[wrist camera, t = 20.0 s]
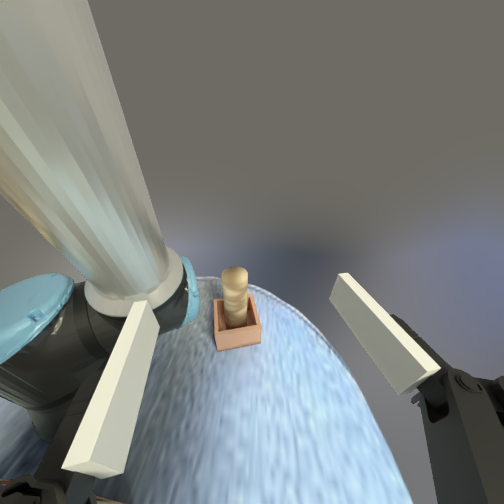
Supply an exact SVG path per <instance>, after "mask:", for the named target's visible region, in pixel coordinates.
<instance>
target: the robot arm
mask: <svg viewBox="0 0 504 504" xmlns="http://www.w3.org/2000/svg"><path fill="white" fill-rule="evenodd" d="M0 193H1V195H2V196H3V197H4V198H6V200H8V202H9V203H10V204H11V205H12V206H13V207H15V208H16V209H17V210H18V211H19V212H20V213H21V214H22V215H23V216H24V217H25V218H26V219H27V220H28V221H29V222H30V223H31V224H32V225H33V226H34V227H35V228H36V229H37V230H38V231H39V232H40V233H41V234H42V235H43V236H44V237H45V238H46V239H47V240H48V241H49V242H50V243H51V244H52V245H53V246H54V247H55V248H56V249H57V250H58V251H59V252H60V253H61V254H62V255H63V256H64V257H65V258H66V259H67V260H68V261H69V262H70V263H71V264H72V265H73V266H74V267H75V268H76V269H77V270H78V271H79V272H80V273H81V274H82V275H83V276H84V277H85V278H86V281H85V282H81V283H76V284H75V283H74V281H73V279H71V278H69V277H68V276H66V275H64V274H57V273H51V274H44V275H39V276H35V277H32V278H29V279H26V280H23V281H20V282H18V283H16V284H13V285H11V286H9V287H6V288H4V289H2V290H0V397H2V398H4V399H7V400H9V401H11V402H13V403H15V404H18V405H20V406H22V407H24V408H26V409H27V410H28V413H29V415H30V418H31V420H32V424H33V428H34V431H35V433H36V434H37V435H38V436H39V437H40V438H42V439H43V440H46V441H48V442H51V444H50V446H49V448H48V450H47V452H46V454H45V456H44V458H43V460H42V462H41V464H40V466H39V468H38V470H37V471H36V473H35V475H34V476H31V475H23V476H21V477H18V478H15V479H14V480H12V481H11V482H9V483H8V484H7V485H5V486H4V487H2V488H1V489H0V504H97V501H96V498H95V495H94V492H93V490H92V486H93V483H94V480H95V477H96V478H100V479H104V478H108V477H111V476H115V475H119V474H122V473H124V469H125V465H126V461H127V457H128V453H129V449H130V445H131V441H132V437H133V433H134V429H135V425H136V421H137V417H138V413H139V409H140V405H141V401H142V397H143V393H144V389H145V384H146V380H147V376H148V372H149V368H150V364H151V360H152V356H153V352H154V348H155V344H156V340H157V336H159V335H161V334H163V333H166V332H168V331H171V330H173V329H179V328H181V327H183V326H184V325H185V324H187V323H189V322H191V321H193V320H195V319H196V318H197V316H198V314H199V311H200V296H199V293H198V284H197V280H196V276H195V273H194V270H193V267H192V265H191V262H190V261H189V259H188V258H187V257H184V256H181V257H180V256H178V255H177V253H175V251H173V250H172V249H170V248H169V247H166V246H165V244H164V241H163V238H162V235H161V232H160V228H159V225H158V222H157V219H156V216H155V213H154V210H153V206H152V203H151V200H150V197H149V194H148V190H147V188H146V184H145V181H144V178H143V175H142V172H141V169H140V165H139V162H138V159H137V156H136V153H135V150H134V147H133V143H132V140H131V137H130V134H129V131H128V128H127V124H126V121H125V118H124V115H123V112H122V109H121V106H120V102H119V99H118V96H117V93H116V90H115V86H114V83H113V80H112V77H111V74H110V71H109V67H108V65H107V61H106V58H105V55H104V52H103V49H102V45H101V42H100V39H99V36H98V33H97V29H96V26H95V23H94V20H93V17H92V14H91V10H90V7H89V4H88V1H87V0H0ZM329 300H330V301H331V303H332V304H333V305H334V307H335V308H336V310H337V311H338V312H339V314H340V315H341V317H342V318H343V319H344V321H345V322H346V323H347V325H348V326H349V328H350V329H351V331H352V332H353V333H354V335H355V336H356V338H357V339H358V340H359V342H360V343H361V345H362V346H363V347H364V349H365V350H366V352H367V353H368V354H369V356H370V357H371V358H372V360H373V361H374V363H375V364H376V365H377V367H378V368H379V369H380V371H381V372H382V374H383V375H384V377H385V378H386V379H387V381H388V382H389V384H390V385H391V386H392V388H393V389H394V391H395V392H396V393H397V395H398V396H399V395H403V394H406V393H410V392H411V391H412V390H414V389H415V388H417V389H418V390H419V391H420V392H419V393H417V394H416V395H415V396H414V397H413V398H412V400H411V402H412V403H413V404H414V403H416V402H417V401H419V403H418V406H419V407H421V413H422V419H423V424H424V430H425V435H426V440H427V446H428V452H429V457H430V463H431V468H432V473H433V479H434V485H435V490H436V496H437V501H438V504H504V376H501V377H499V378H497V379H495V380H487V379H481V378H474V377H472V376H471V375H469V374H468V373H466V372H464V371H462V370H458V369H454V368H452V367H451V366H450V365H448V364H447V363H446V362H445V361H444V360H443V359H442V358H441V357H440V356H439V355H438V354H437V353H436V352H435V351H434V350H433V349H432V348H431V347H430V346H429V345H428V344H427V343H426V342H425V341H424V340H423V339H422V338H420V337H419V336H418V335H417V334H416V333H415V332H414V331H412V329H411V328H410V327H409V326H408V325H407V324H406V323H405V322H404V321H403V320H401V319H400V318H398V317H396V316H395V315H394V314H393V315H388V313H386V311H385V310H384V309H383V308H382V307H381V306H380V305H379V304H378V303H377V302H376V301H375V300H374V299H373V298H372V297H371V296H370V295H369V294H368V293H367V292H366V291H365V290H364V289H363V288H362V287H361V286H360V285H359V284H358V283H357V282H356V281H355V280H354V279H353V278H352V277H351V276H350V275H349V274H348V273H342V274H338V276H337V280H336V282H335V285H334V288H333V290H332V293H331V296H330V298H329Z"/></svg>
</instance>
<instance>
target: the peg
mask: <svg viewBox="0 0 504 504" xmlns="http://www.w3.org/2000/svg"><path fill="white" fill-rule="evenodd" d="M247 281H248V273H247V271H246V270H245V269H244V268H241V267H236V266H235V267H229V268H227V269H225V270H224V271H223V272H222V287H223V299H224V311H225V322H226V330H230V329H236V328H242V327H247Z"/></svg>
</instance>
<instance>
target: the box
mask: <svg viewBox="0 0 504 504" xmlns="http://www.w3.org/2000/svg"><path fill="white" fill-rule="evenodd" d="M214 331H215V340H216V346H217V351H223V350H229V349H234V348H239V347H244V346H249V345H254V344H260V343H261V324H260V320H259V317H258V313H257V309H256V305H255V302H254V298H253V294H247V327H242V328H236V329H230V330H226V322H225V311H224V299H223V298H219V299H214Z"/></svg>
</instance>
